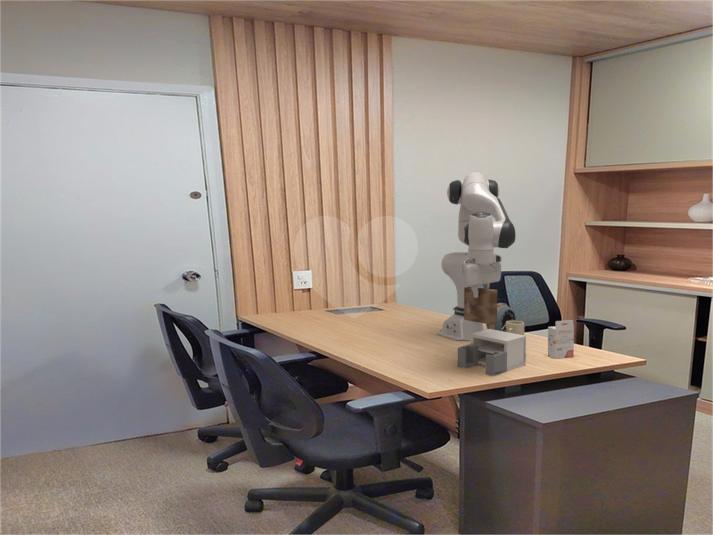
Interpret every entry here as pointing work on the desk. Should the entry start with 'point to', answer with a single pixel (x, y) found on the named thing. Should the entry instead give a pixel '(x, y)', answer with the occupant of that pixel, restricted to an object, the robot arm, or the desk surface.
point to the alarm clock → (502, 317)
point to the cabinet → (494, 351)
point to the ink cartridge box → (561, 339)
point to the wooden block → (480, 306)
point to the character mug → (515, 327)
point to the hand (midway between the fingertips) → (480, 296)
